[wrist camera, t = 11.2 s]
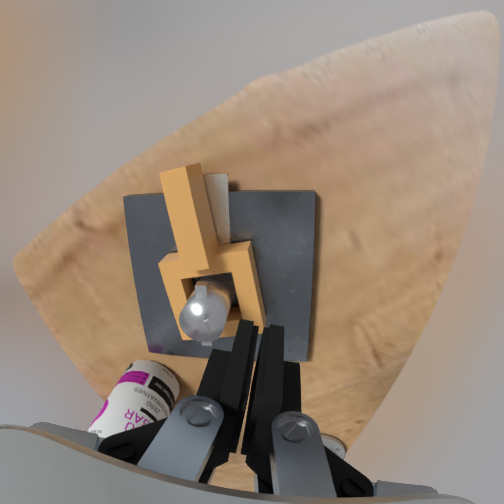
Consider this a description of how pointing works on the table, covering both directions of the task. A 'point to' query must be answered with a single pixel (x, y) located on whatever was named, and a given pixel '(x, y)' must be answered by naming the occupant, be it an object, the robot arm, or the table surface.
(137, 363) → the supplement can
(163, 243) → the base plate
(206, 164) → the table surface
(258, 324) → the tan wooden bracket
